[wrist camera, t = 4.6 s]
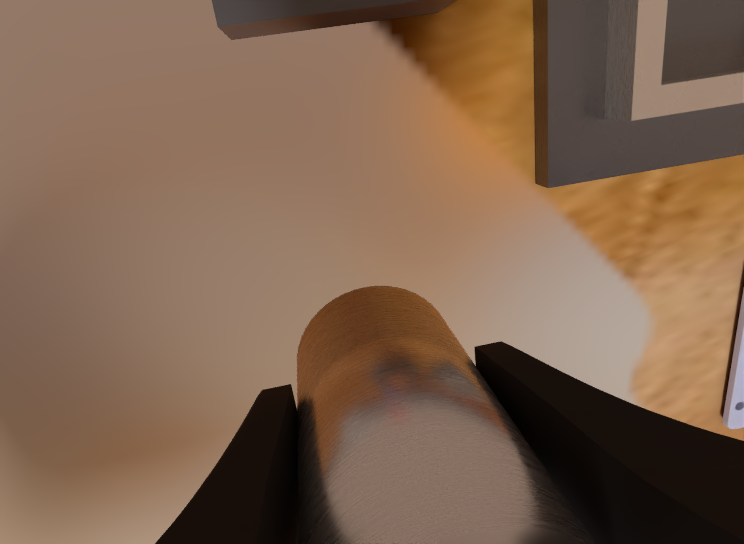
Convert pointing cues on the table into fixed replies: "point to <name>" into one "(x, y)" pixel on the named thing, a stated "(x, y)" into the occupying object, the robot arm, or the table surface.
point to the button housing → (311, 14)
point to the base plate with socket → (635, 86)
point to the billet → (411, 436)
